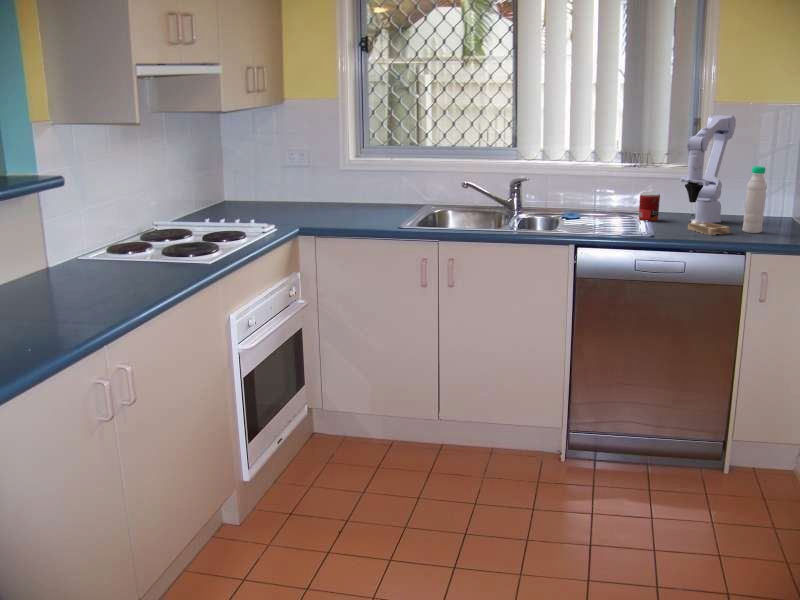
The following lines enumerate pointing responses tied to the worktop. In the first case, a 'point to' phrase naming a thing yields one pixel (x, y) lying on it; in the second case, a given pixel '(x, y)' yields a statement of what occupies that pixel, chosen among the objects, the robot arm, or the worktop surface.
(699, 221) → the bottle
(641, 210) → the canned food
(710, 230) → the cradle
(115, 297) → the worktop surface
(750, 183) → the water bottle
